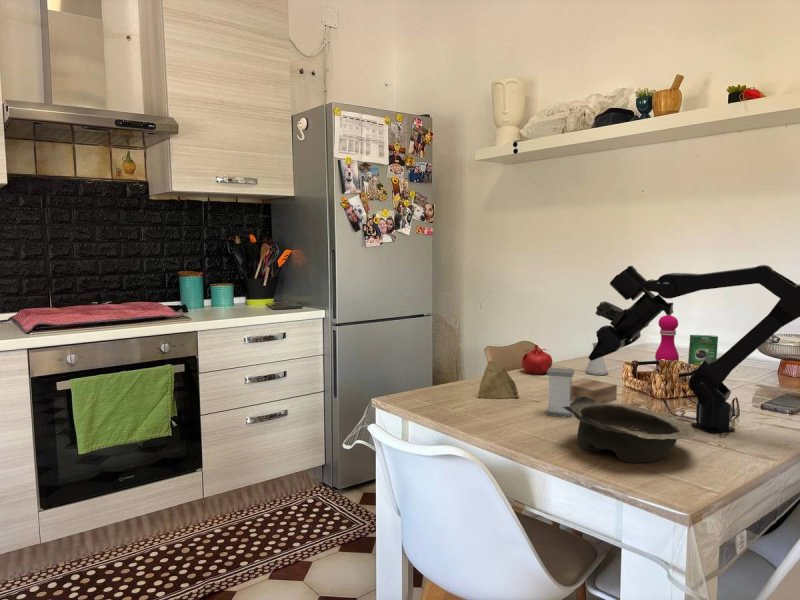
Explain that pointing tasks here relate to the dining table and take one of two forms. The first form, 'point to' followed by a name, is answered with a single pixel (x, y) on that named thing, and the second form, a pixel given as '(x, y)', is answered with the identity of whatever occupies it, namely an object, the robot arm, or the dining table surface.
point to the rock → (497, 383)
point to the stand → (594, 390)
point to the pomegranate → (536, 361)
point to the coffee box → (702, 348)
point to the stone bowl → (627, 430)
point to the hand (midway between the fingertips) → (595, 356)
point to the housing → (559, 391)
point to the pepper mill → (667, 339)
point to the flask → (596, 366)
